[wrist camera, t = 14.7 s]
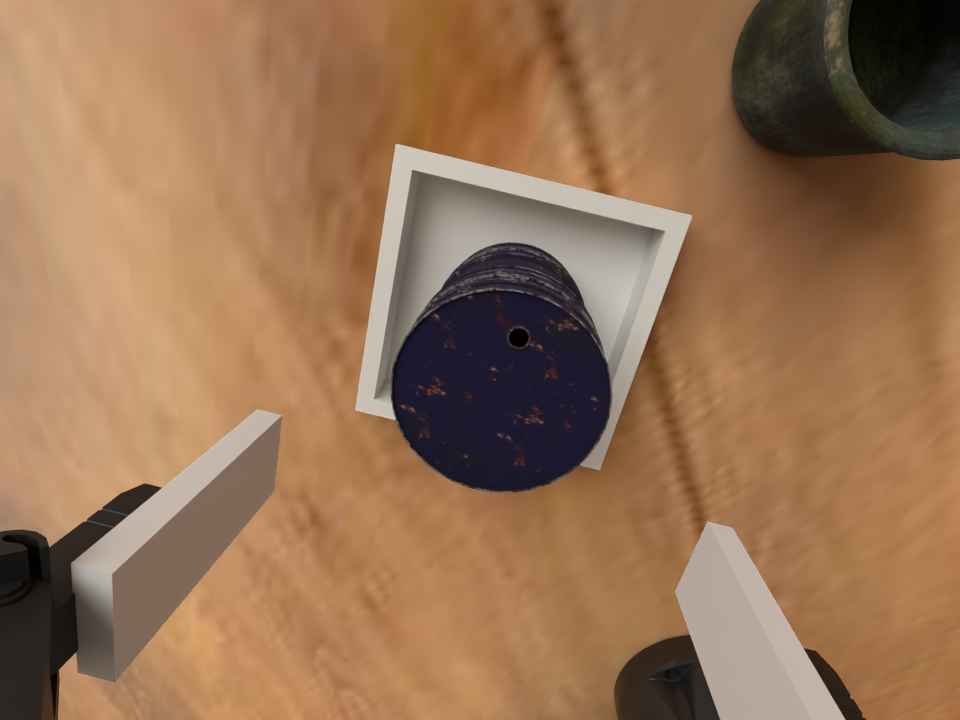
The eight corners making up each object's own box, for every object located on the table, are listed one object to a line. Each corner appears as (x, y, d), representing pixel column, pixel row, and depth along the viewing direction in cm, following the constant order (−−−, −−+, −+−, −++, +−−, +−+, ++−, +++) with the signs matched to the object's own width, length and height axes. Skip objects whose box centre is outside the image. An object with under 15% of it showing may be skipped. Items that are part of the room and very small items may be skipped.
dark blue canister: (554, 392, 38) (569, 520, 24) (427, 355, 38) (368, 461, 24) (602, 263, 34) (652, 324, 20) (462, 221, 34) (416, 254, 20)
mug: (758, 198, 33) (876, 210, 22) (669, -33, 29) (756, -162, 18) (940, 104, 30) (1179, 64, 19) (867, -163, 27) (1111, -407, 16)
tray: (593, 442, 40) (599, 470, 36) (371, 388, 40) (355, 410, 37) (674, 211, 34) (692, 215, 30) (410, 147, 34) (395, 143, 30)
